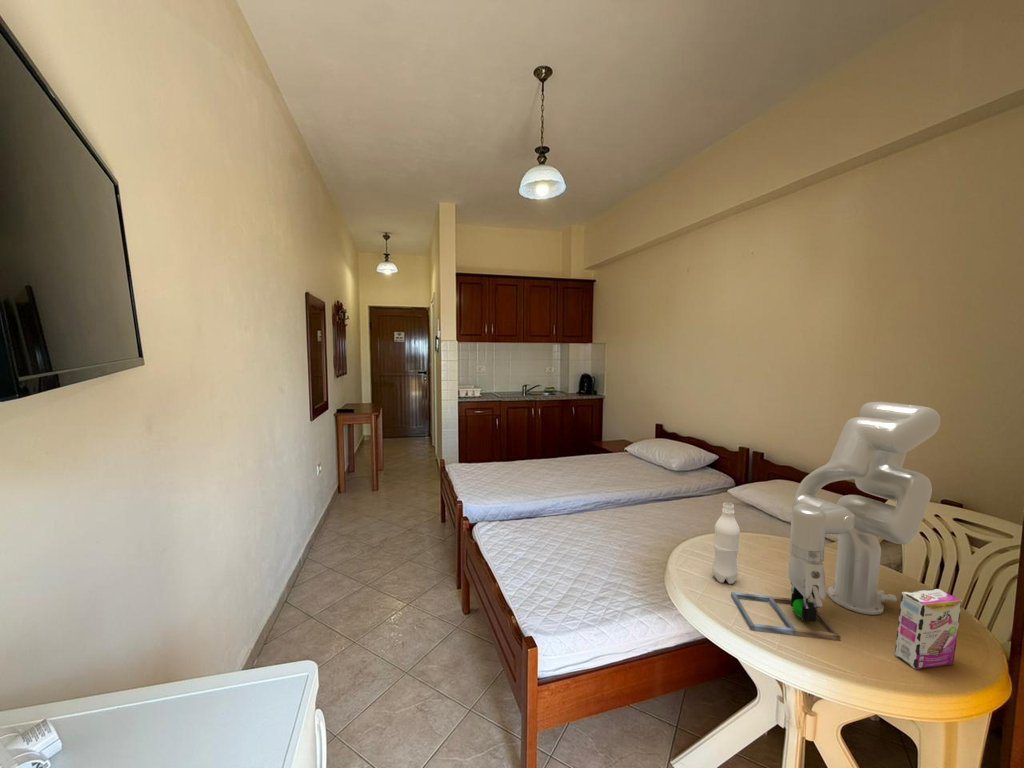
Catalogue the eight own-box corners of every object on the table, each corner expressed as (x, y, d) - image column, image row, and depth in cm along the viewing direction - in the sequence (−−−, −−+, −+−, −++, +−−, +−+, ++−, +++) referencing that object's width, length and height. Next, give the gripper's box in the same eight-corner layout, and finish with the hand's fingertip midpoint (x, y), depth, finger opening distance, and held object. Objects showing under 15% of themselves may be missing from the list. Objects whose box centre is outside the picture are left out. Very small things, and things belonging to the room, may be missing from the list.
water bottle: (735, 588, 125) (739, 510, 123) (709, 580, 129) (713, 505, 127) (738, 578, 131) (743, 503, 129) (714, 571, 135) (718, 498, 133)
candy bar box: (917, 671, 93) (923, 604, 92) (893, 655, 98) (899, 591, 97) (956, 665, 95) (963, 599, 93) (931, 650, 100) (937, 587, 98)
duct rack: (808, 604, 118) (809, 600, 117) (840, 640, 103) (840, 636, 103) (730, 595, 121) (731, 592, 121) (750, 629, 107) (750, 625, 107)
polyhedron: (793, 608, 115) (794, 592, 114) (814, 615, 112) (815, 599, 111) (791, 617, 111) (792, 601, 111) (813, 625, 108) (814, 608, 107)
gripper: (841, 569, 101) (837, 637, 102) (805, 537, 117) (802, 596, 119) (807, 567, 102) (804, 634, 104) (776, 535, 119) (774, 594, 120)
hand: (803, 613), depth 111 cm, fingers closed on polyhedron, 5 cm apart
